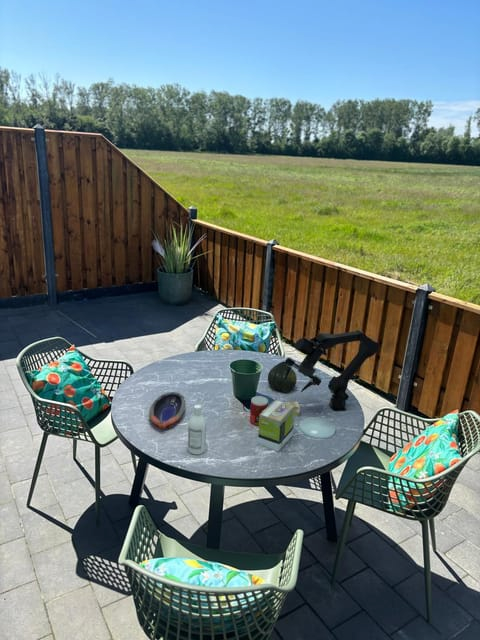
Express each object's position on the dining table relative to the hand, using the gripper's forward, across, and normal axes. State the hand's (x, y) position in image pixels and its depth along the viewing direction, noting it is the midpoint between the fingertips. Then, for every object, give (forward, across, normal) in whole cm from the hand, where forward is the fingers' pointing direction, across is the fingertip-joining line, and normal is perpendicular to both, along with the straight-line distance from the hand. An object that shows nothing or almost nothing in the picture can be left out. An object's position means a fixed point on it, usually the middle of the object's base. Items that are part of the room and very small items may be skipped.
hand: (292, 386), depth 212 cm
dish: (+42, -39, -14) cm, 59 cm away
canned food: (+21, -4, -8) cm, 23 cm away
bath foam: (+38, -18, -36) cm, 55 cm away
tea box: (+20, +6, -20) cm, 29 cm away
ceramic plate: (+8, +19, -6) cm, 22 cm away
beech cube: (+12, +7, +4) cm, 14 cm away
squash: (+10, -4, +27) cm, 29 cm away
